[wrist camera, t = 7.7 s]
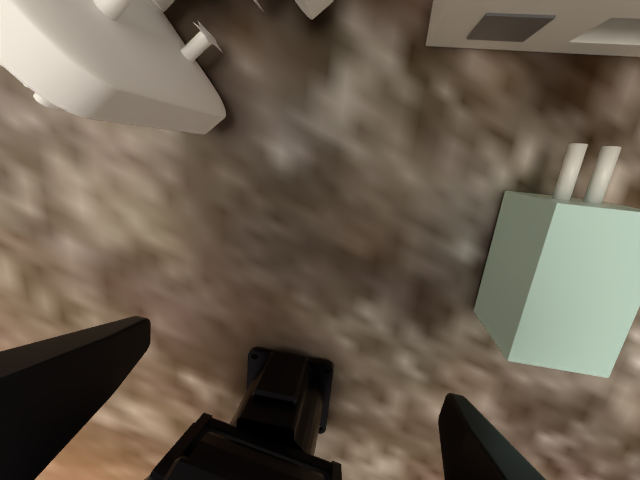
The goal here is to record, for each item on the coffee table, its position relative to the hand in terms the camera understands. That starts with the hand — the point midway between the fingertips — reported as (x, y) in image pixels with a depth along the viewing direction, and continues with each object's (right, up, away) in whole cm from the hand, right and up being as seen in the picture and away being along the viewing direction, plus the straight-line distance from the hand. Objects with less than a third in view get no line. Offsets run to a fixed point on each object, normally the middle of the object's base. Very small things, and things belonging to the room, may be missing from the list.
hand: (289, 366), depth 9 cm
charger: (+14, +4, +9) cm, 17 cm away
